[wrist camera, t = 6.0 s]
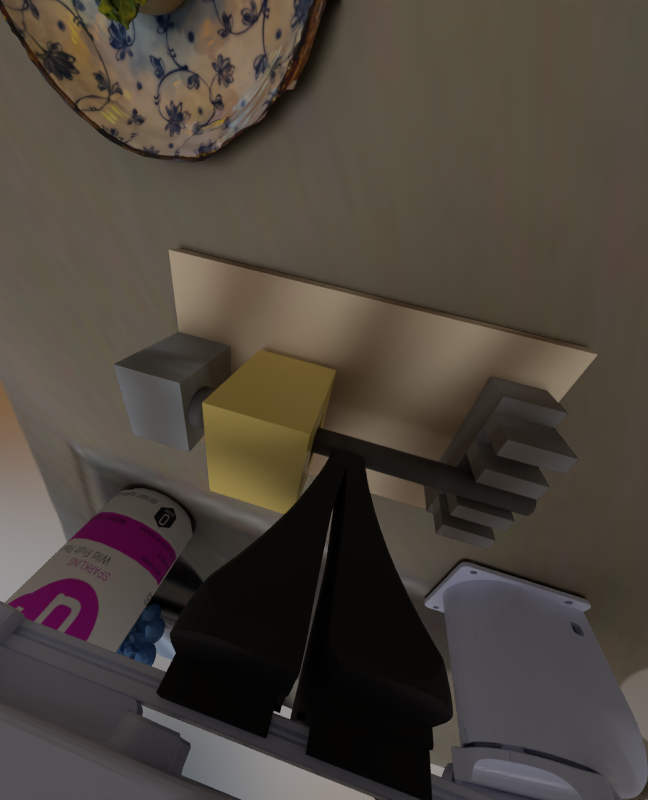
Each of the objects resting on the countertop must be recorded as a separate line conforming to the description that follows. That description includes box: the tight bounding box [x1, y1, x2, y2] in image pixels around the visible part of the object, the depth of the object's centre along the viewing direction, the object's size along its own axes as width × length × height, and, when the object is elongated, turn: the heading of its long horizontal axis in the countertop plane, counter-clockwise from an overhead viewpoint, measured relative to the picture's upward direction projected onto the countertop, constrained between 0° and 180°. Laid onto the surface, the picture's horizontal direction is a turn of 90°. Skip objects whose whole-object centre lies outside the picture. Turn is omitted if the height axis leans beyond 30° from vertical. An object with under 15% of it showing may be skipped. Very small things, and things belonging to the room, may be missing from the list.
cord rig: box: [114, 248, 598, 549], centre depth 14 cm, size 19×12×5 cm, turn 80°
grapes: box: [116, 603, 165, 666], centre depth 39 cm, size 12×7×12 cm, turn 114°
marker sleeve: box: [202, 350, 336, 514], centre depth 13 cm, size 4×5×5 cm
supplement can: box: [5, 488, 192, 653], centre depth 22 cm, size 8×8×15 cm
